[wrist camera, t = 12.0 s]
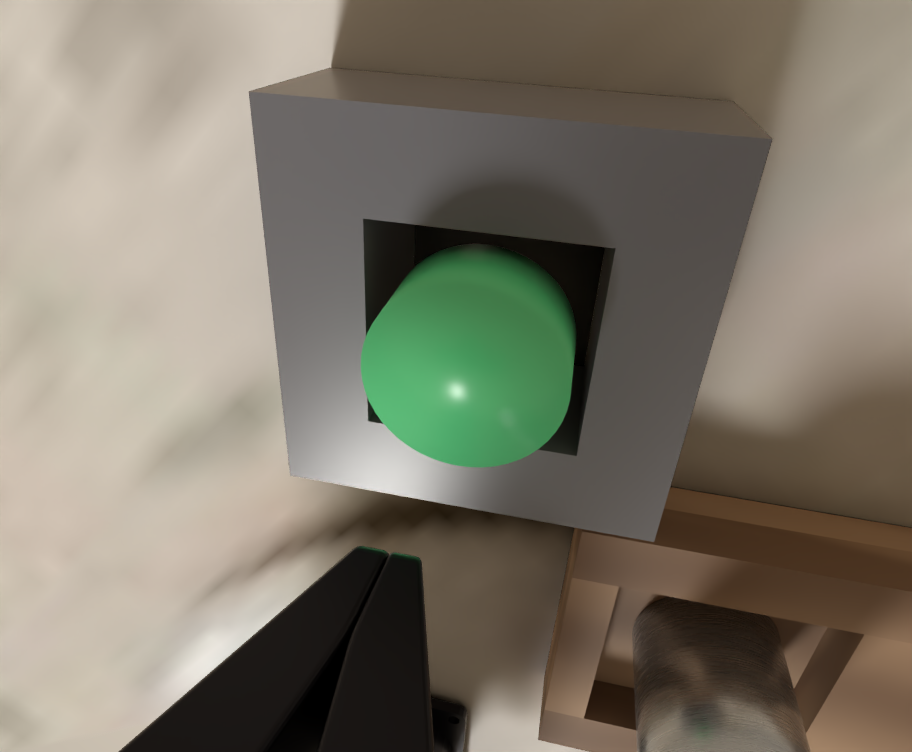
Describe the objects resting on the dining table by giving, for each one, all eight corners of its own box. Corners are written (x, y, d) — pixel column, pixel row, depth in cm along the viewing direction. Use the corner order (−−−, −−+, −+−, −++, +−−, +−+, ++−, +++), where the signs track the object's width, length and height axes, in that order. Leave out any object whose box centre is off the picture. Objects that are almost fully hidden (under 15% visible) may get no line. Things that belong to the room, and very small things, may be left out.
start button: (562, 425, 15) (555, 482, 13) (390, 397, 15) (363, 449, 14) (591, 256, 12) (586, 299, 11) (390, 232, 13) (357, 268, 11)
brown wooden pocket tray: (1140, 805, 22) (1196, 892, 20) (544, 675, 25) (538, 739, 23) (1377, 607, 17) (1488, 697, 14) (585, 472, 19) (582, 531, 17)
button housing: (646, 440, 18) (654, 541, 15) (345, 392, 20) (290, 475, 16) (733, 101, 14) (772, 139, 10) (330, 67, 15) (248, 91, 12)
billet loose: (755, 696, 21) (812, 965, 16) (620, 668, 22) (625, 917, 16) (800, 607, 19) (887, 883, 13) (648, 578, 20) (666, 830, 14)
